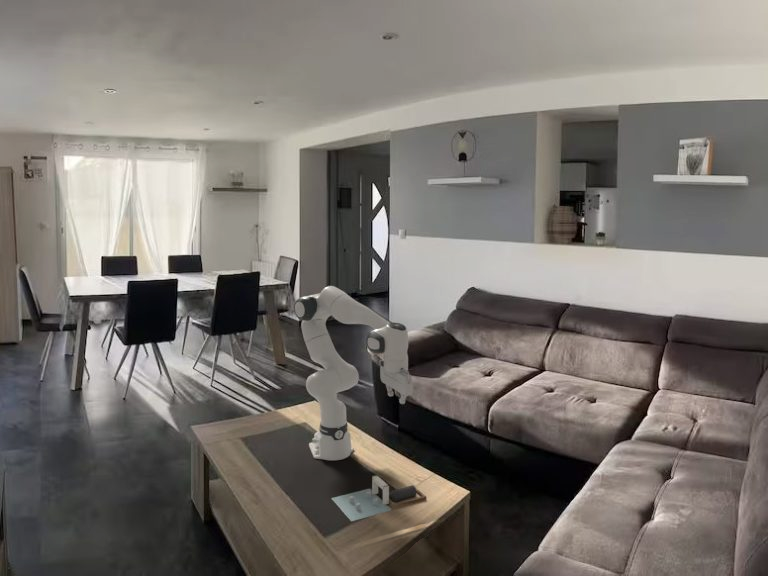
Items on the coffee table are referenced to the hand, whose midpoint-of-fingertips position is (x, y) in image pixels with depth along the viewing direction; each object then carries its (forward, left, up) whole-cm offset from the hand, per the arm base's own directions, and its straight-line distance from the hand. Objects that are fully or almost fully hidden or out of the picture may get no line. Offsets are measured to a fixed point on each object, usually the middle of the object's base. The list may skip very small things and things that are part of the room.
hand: (396, 399), depth 231 cm
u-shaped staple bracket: (+11, -13, -33) cm, 37 cm away
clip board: (+11, -21, -34) cm, 41 cm away
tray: (+15, -5, -34) cm, 37 cm away
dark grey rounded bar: (+15, -5, -33) cm, 37 cm away
